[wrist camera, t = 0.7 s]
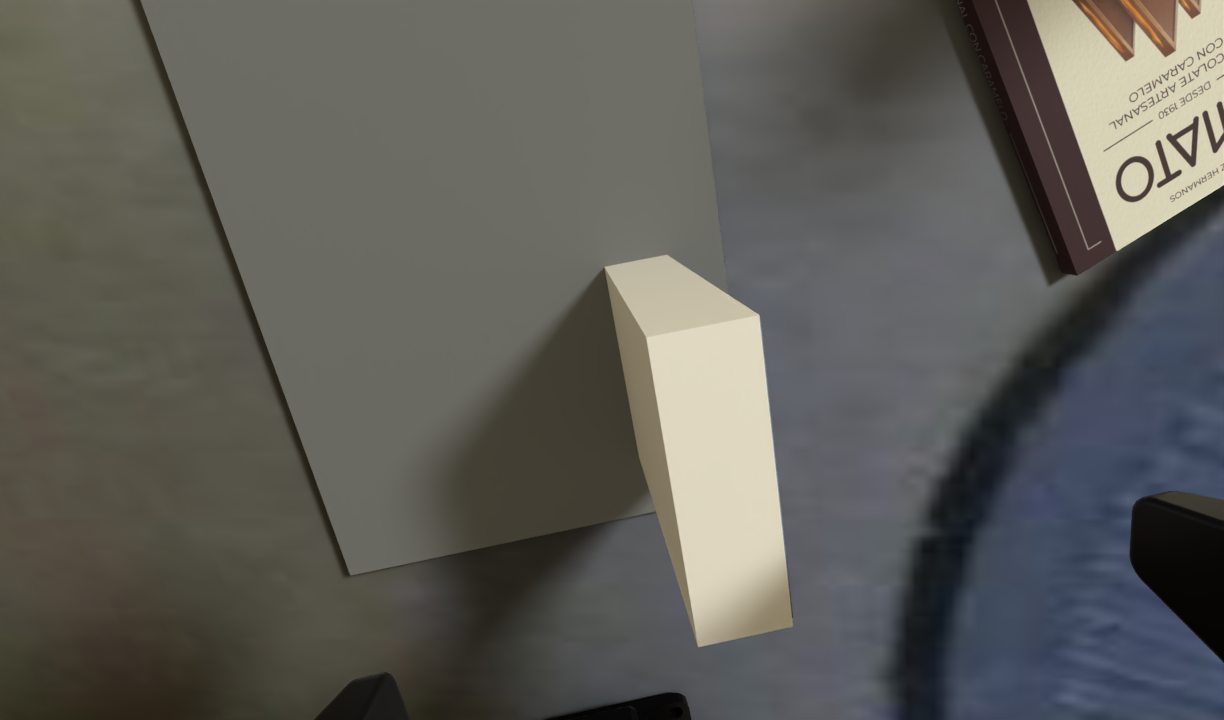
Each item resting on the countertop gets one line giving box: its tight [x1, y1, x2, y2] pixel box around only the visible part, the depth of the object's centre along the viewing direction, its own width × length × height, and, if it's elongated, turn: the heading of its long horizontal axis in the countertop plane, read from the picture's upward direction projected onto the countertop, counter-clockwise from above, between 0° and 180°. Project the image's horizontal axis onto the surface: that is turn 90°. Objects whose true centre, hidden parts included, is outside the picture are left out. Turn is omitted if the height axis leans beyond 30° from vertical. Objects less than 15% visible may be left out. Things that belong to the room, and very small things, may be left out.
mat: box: [141, 0, 728, 576], centre depth 17 cm, size 18×13×1 cm
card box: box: [604, 255, 793, 647], centre depth 14 cm, size 6×2×8 cm, turn 10°
